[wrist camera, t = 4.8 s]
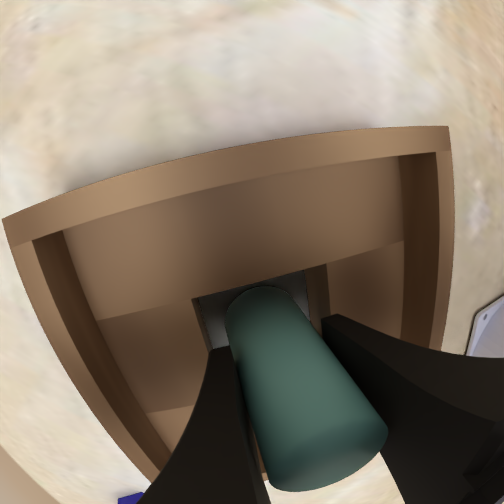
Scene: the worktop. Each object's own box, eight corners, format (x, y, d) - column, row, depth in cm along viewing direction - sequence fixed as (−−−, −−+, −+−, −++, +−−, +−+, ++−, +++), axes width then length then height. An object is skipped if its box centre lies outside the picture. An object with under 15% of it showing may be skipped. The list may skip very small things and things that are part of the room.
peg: (290, 276, 12) (394, 398, 5) (301, 337, 13) (381, 461, 6) (215, 298, 11) (255, 453, 5) (235, 358, 12) (279, 501, 6)
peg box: (373, 130, 12) (448, 125, 7) (381, 367, 16) (423, 414, 12) (63, 196, 10) (1, 218, 6) (164, 431, 14) (166, 497, 10)
